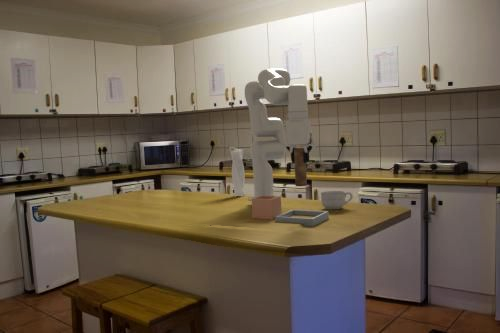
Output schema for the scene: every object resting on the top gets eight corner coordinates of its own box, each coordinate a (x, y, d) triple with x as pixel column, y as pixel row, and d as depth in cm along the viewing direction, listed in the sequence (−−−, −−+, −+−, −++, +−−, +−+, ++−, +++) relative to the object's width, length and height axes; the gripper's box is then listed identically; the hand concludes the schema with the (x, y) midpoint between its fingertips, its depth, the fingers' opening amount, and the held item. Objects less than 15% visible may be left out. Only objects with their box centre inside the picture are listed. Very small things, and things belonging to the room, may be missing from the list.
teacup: (318, 210, 211) (317, 192, 210) (325, 206, 220) (325, 189, 220) (348, 211, 204) (348, 193, 204) (355, 207, 214) (354, 189, 213)
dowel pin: (293, 186, 187) (292, 148, 186) (298, 184, 191) (296, 147, 190) (304, 186, 185) (302, 148, 184) (308, 185, 189) (307, 147, 188)
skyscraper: (233, 197, 263) (230, 147, 261) (230, 195, 270) (227, 146, 268) (247, 196, 265) (244, 146, 263) (243, 194, 272) (241, 146, 270)
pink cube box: (252, 220, 196) (251, 198, 195) (263, 216, 204) (261, 195, 203) (271, 221, 191) (270, 199, 191) (281, 217, 199) (280, 196, 198)
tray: (275, 223, 186) (275, 216, 186) (292, 216, 200) (292, 209, 200) (313, 226, 178) (313, 219, 178) (328, 218, 192) (328, 211, 192)
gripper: (274, 117, 187) (277, 163, 188) (314, 115, 178) (316, 163, 180) (283, 117, 193) (285, 162, 195) (322, 115, 185) (323, 161, 186)
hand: (300, 162), depth 187 cm, fingers closed on dowel pin, 4 cm apart
